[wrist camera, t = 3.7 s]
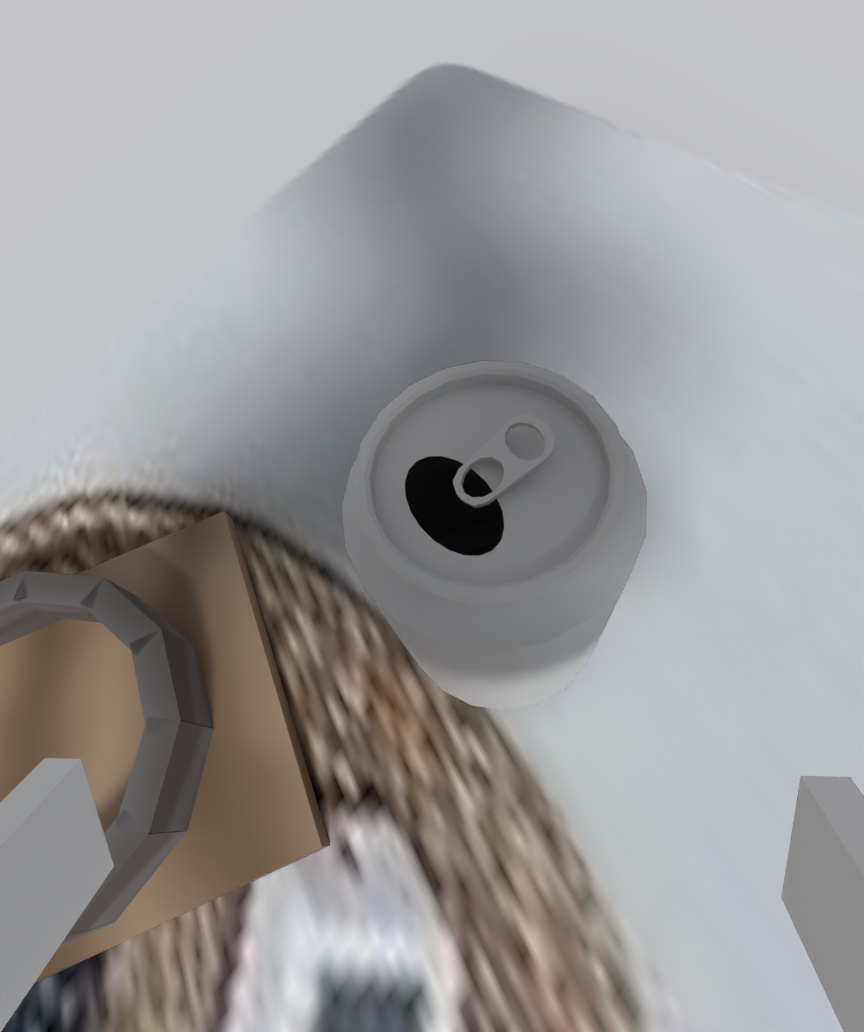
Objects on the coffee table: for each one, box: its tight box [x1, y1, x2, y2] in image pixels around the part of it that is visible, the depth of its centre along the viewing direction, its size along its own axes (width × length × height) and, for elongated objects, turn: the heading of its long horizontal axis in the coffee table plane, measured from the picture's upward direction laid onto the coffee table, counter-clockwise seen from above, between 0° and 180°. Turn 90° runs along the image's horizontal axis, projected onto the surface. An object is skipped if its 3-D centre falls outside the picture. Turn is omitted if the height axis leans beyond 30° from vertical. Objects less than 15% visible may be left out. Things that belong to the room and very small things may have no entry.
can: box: [342, 361, 647, 710], centre depth 19 cm, size 8×8×12 cm
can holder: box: [0, 511, 330, 983], centre depth 23 cm, size 18×14×4 cm
